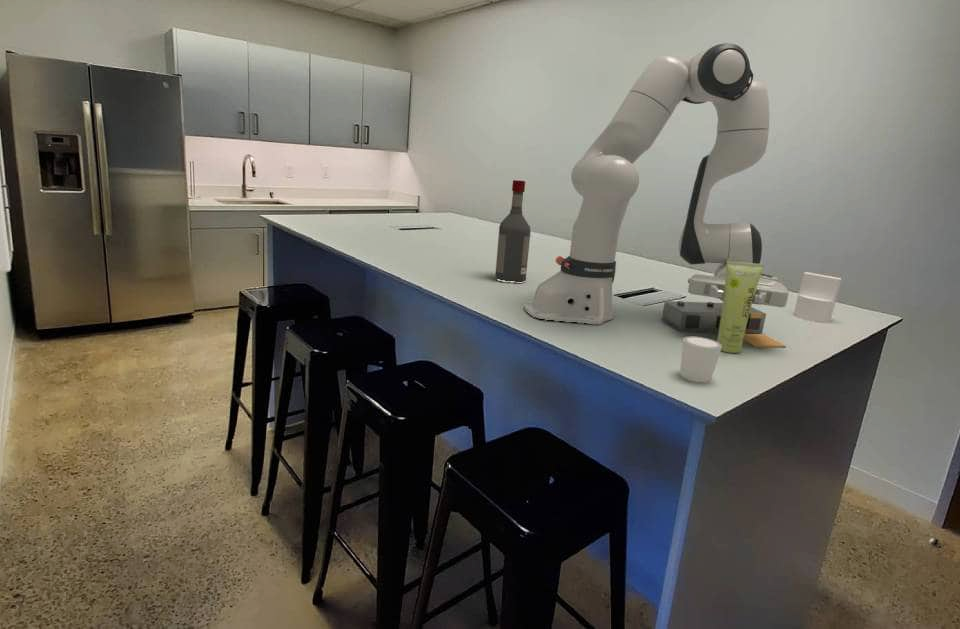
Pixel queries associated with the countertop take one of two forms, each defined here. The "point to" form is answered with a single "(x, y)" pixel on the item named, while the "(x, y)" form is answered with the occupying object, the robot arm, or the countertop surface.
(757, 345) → the pad
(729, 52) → the robot arm
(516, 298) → the countertop surface
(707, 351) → the white tapered cylinder
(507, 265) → the liquor
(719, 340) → the tube
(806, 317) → the base with upright slab
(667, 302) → the box
